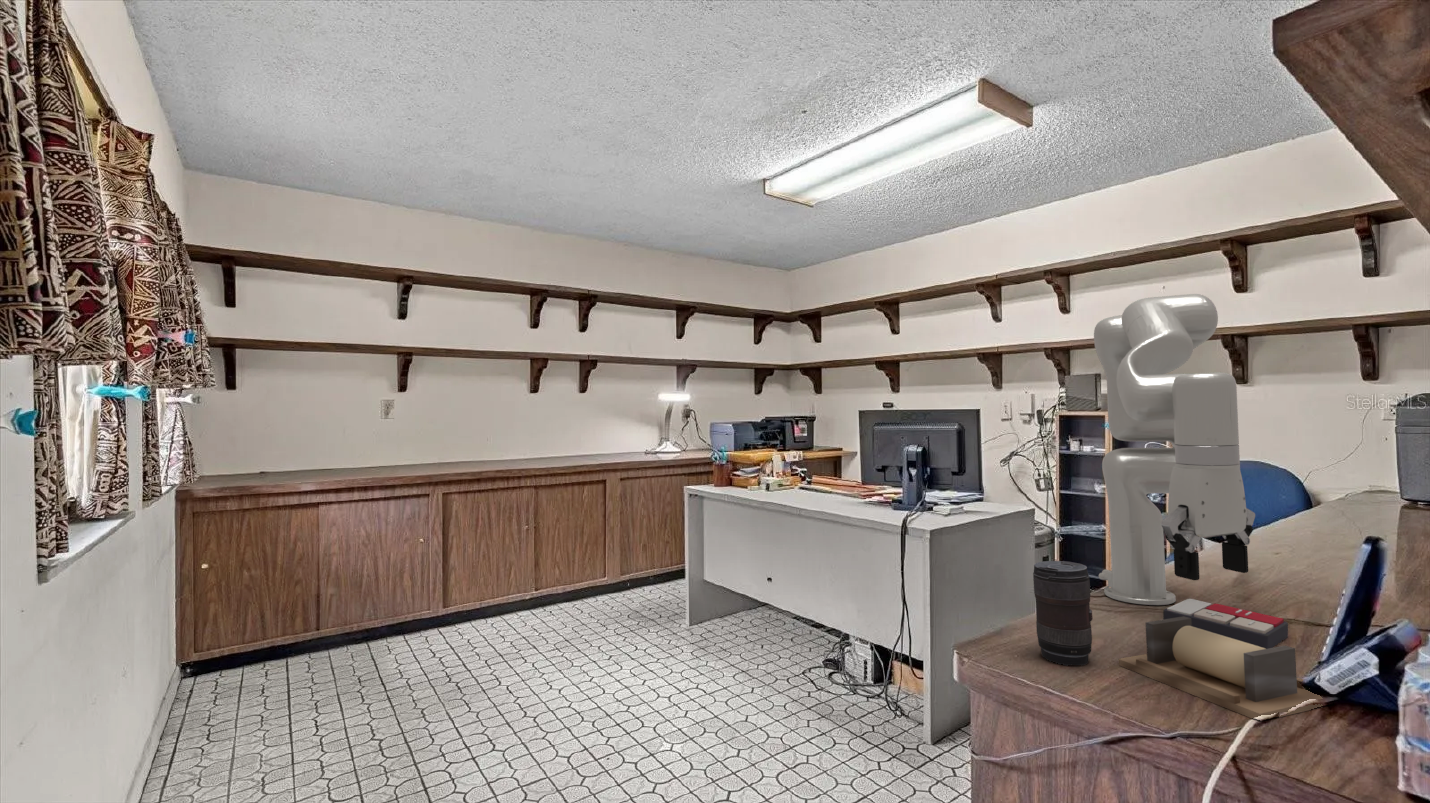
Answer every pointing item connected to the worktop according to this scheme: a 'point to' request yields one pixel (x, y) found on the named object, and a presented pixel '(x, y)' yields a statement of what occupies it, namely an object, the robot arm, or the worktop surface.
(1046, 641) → the camera lens
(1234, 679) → the beige cylinder
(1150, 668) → the roll holder
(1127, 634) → the worktop surface
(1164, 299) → the robot arm
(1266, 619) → the calculator
